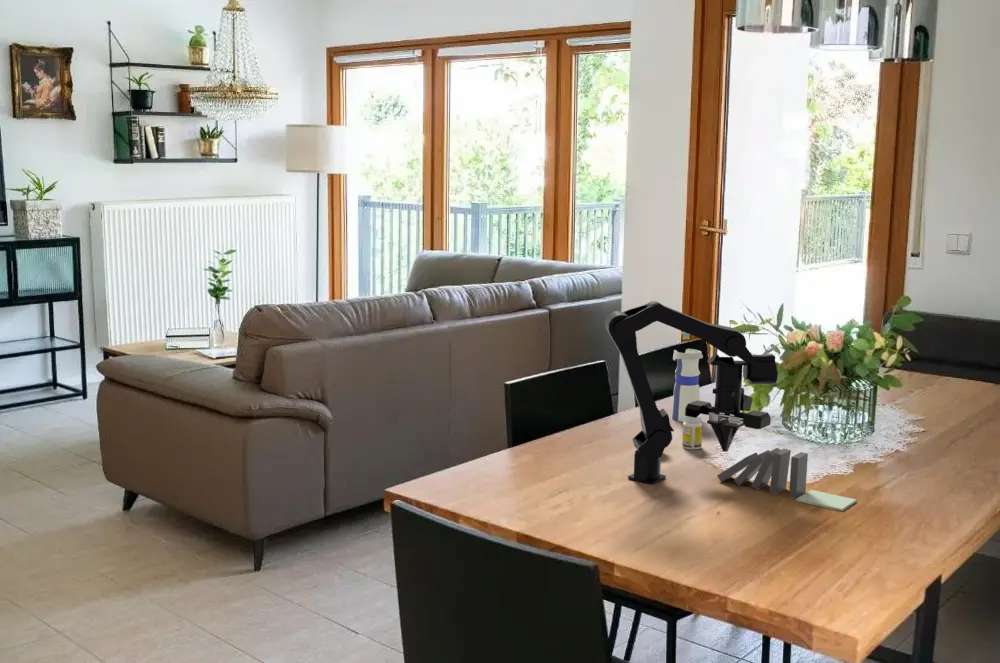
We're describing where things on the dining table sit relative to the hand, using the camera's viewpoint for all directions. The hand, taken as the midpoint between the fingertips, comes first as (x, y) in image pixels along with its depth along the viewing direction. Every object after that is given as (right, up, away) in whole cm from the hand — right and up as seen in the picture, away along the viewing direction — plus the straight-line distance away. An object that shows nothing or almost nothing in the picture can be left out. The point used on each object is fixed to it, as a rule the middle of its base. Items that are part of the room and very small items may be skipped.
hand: (725, 451), depth 236 cm
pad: (+19, -9, -14) cm, 25 cm away
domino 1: (0, -6, +1) cm, 6 cm away
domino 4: (+10, -8, -7) cm, 15 cm away
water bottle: (+1, +3, +56) cm, 56 cm away
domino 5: (+14, -8, -10) cm, 19 cm away
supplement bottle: (-3, -2, +27) cm, 27 cm away
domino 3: (+7, -7, -4) cm, 11 cm away
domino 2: (+3, -6, -2) cm, 7 cm away
